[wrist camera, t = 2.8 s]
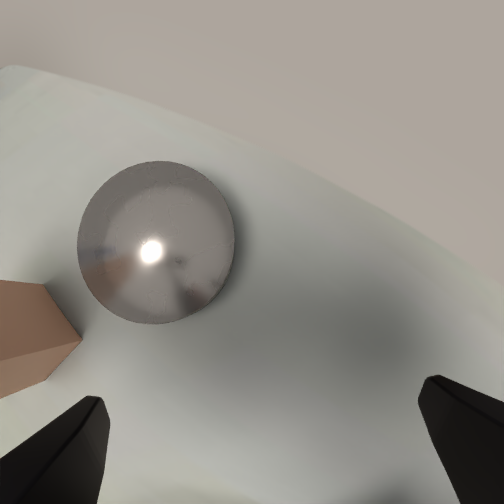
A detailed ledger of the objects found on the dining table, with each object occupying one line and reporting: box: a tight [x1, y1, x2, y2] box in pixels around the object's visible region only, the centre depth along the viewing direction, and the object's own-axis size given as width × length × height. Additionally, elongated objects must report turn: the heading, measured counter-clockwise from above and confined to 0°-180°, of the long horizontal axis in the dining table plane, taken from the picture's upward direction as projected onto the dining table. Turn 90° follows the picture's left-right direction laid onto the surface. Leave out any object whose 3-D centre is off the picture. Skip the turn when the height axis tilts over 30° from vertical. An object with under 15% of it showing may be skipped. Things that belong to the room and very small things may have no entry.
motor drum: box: [77, 161, 235, 324], centre depth 18 cm, size 9×9×4 cm
